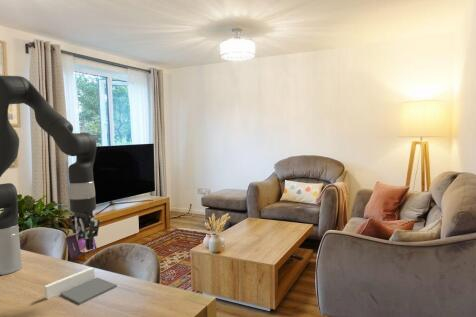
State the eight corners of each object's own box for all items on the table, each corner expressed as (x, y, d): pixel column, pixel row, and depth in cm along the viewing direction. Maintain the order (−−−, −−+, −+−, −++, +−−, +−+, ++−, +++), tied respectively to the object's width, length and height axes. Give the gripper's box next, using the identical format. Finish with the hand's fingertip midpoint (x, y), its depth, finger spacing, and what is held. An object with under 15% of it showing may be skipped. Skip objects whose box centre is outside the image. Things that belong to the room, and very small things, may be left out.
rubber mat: (60, 295, 105) (60, 293, 105) (97, 279, 115) (97, 277, 115) (79, 304, 98) (79, 302, 98) (116, 286, 109) (116, 285, 109)
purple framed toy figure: (67, 237, 99) (92, 228, 107) (57, 240, 101) (83, 231, 109) (73, 258, 98) (98, 248, 106) (63, 261, 101) (88, 251, 109)
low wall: (45, 298, 103) (44, 285, 103) (92, 278, 116) (91, 267, 116) (47, 299, 102) (46, 287, 102) (94, 279, 115) (94, 268, 115)
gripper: (58, 195, 105) (62, 247, 106) (83, 200, 97) (87, 256, 99) (81, 191, 111) (84, 240, 113) (106, 195, 103) (109, 248, 105)
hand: (85, 247), depth 106 cm, fingers closed on purple framed toy figure, 4 cm apart
